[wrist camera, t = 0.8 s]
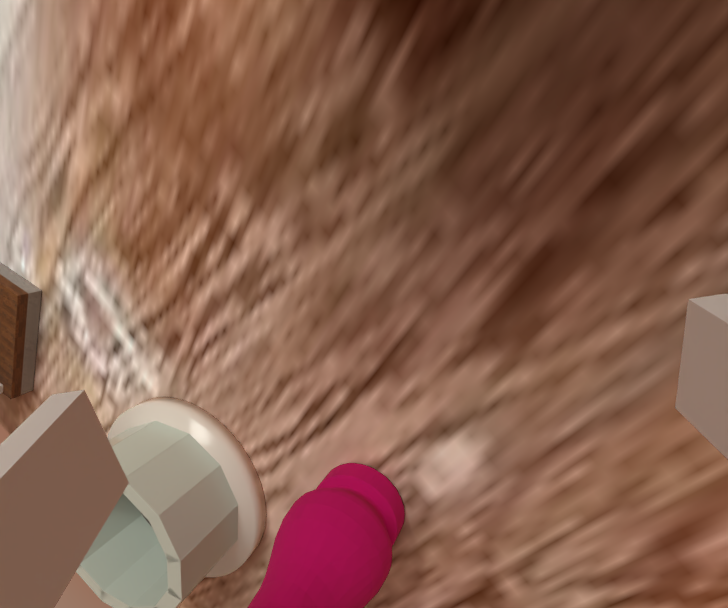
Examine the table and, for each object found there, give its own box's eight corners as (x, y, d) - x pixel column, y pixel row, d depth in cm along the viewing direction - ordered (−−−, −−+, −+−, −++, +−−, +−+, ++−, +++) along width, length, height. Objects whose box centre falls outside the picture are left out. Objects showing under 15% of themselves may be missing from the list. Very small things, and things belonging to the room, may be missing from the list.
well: (114, 375, 41) (24, 414, 34) (269, 430, 35) (198, 491, 29) (125, 523, 46) (49, 582, 39) (263, 592, 40) (201, 676, 33)
